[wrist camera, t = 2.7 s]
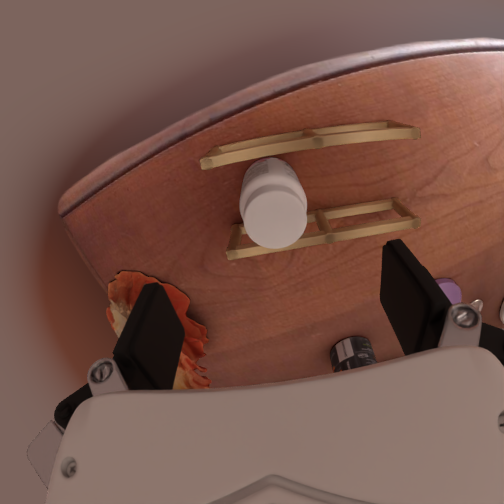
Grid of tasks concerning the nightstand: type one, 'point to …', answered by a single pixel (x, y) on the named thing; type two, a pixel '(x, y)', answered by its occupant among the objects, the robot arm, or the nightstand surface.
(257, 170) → the pill bottle
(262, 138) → the rack
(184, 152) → the nightstand surface
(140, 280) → the seashell
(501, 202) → the nightstand surface
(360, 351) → the pill bottle
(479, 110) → the nightstand surface
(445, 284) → the coaster
